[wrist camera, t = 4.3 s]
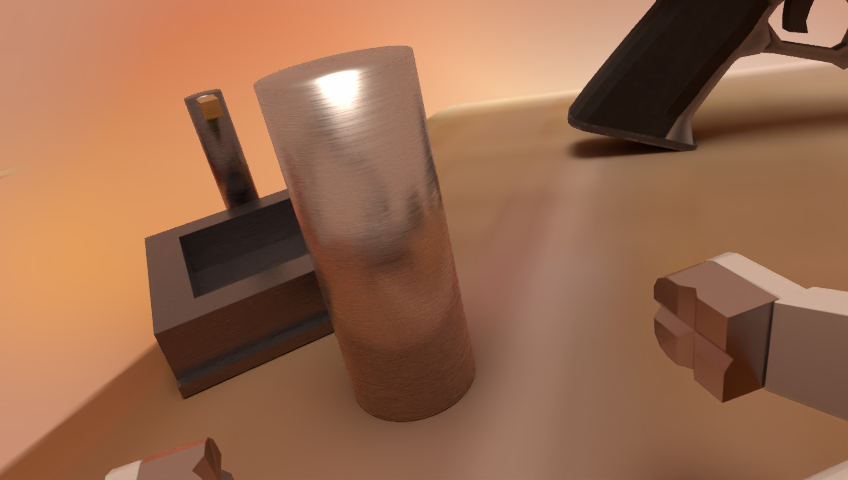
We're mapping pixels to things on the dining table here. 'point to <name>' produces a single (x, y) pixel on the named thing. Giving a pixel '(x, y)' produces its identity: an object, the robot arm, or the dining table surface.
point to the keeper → (231, 271)
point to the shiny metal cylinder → (374, 225)
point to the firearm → (685, 65)
